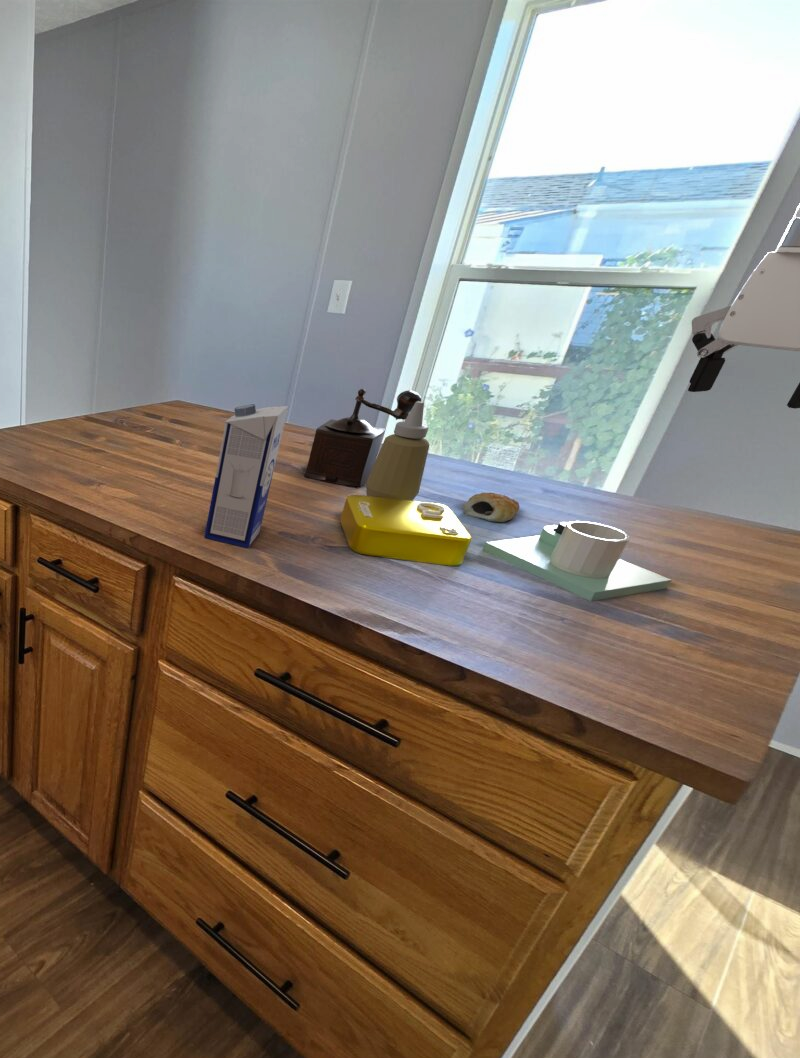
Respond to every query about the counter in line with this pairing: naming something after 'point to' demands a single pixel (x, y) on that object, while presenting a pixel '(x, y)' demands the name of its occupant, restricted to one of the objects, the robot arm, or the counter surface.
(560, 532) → the tare button
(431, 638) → the counter surface
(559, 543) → the small bowl
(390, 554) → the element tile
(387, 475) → the squeeze bottle
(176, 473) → the counter surface
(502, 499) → the pastry
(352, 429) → the manual coffee grinder
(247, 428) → the milk carton
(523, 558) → the scale
